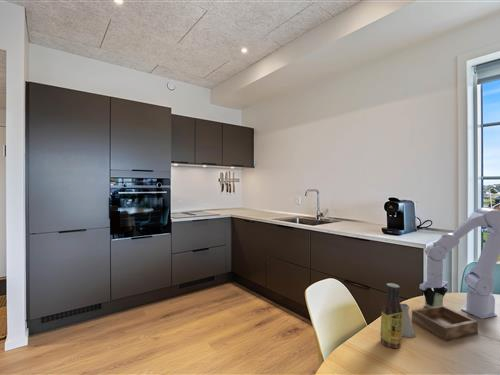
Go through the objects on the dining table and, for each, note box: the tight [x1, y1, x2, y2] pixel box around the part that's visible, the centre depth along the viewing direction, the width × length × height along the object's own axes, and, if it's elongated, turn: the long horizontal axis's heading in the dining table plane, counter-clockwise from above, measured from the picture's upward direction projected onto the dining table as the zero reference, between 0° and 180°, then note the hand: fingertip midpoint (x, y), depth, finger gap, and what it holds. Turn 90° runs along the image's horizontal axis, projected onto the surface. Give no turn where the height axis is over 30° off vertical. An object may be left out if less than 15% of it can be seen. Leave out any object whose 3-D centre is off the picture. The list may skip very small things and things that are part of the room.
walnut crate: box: [411, 304, 479, 342], centre depth 98 cm, size 16×13×4 cm
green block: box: [424, 293, 444, 308], centre depth 114 cm, size 4×4×6 cm
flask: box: [400, 302, 416, 338], centre depth 95 cm, size 7×7×10 cm
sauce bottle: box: [380, 282, 403, 349], centre depth 88 cm, size 6×6×20 cm
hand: (433, 304), depth 114 cm, fingers closed on green block, 4 cm apart
